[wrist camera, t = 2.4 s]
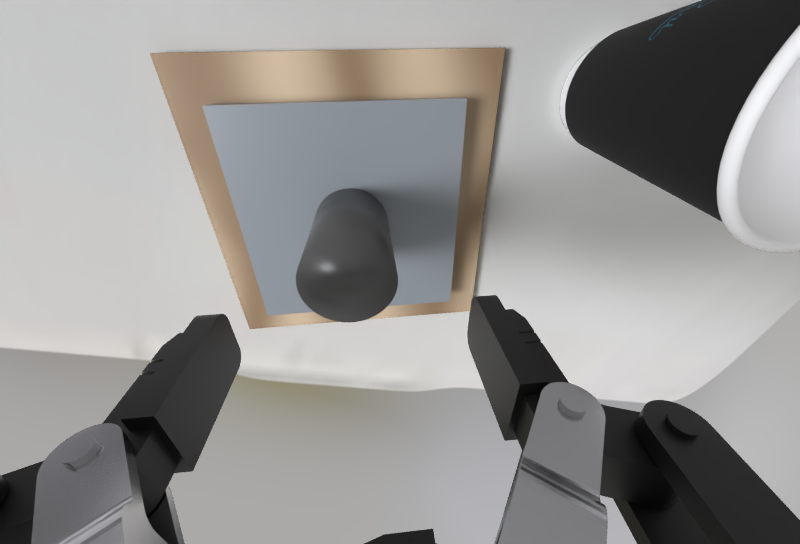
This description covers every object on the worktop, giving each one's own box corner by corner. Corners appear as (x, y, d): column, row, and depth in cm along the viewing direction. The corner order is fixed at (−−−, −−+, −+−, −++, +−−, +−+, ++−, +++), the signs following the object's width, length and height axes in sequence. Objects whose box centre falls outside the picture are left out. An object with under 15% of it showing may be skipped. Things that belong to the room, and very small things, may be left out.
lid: (272, 304, 21) (236, 395, 15) (213, 103, 15) (109, 121, 9) (446, 291, 22) (478, 371, 16) (460, 96, 16) (522, 109, 10)
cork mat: (251, 324, 23) (249, 328, 22) (156, 53, 14) (149, 52, 14) (469, 306, 24) (470, 310, 23) (501, 48, 15) (505, 47, 15)
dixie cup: (583, 193, 20) (778, 295, 11) (501, 107, 17) (675, 144, 7) (703, 77, 17) (1117, 77, 8) (632, -53, 14) (1184, -318, 5)
